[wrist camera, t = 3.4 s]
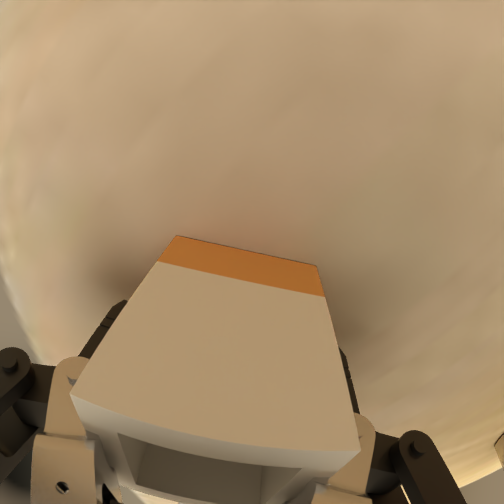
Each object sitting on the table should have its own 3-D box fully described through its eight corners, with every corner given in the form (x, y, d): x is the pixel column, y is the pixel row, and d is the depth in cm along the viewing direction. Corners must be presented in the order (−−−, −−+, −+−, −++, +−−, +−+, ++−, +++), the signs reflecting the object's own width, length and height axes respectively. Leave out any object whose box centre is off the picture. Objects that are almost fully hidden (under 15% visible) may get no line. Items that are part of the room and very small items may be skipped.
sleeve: (316, 265, 10) (361, 450, 4) (279, 364, 12) (279, 515, 6) (176, 235, 10) (69, 393, 4) (167, 340, 12) (113, 482, 6)
